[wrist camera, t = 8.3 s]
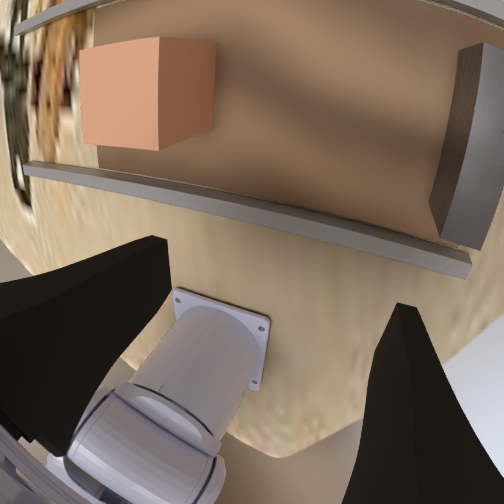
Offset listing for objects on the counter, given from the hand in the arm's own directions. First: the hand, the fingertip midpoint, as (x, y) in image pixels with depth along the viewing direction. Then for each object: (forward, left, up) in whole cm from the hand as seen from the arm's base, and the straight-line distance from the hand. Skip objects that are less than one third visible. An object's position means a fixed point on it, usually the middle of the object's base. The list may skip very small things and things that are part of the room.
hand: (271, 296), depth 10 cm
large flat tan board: (+5, +4, -9) cm, 11 cm away
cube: (+5, +9, -9) cm, 14 cm away
